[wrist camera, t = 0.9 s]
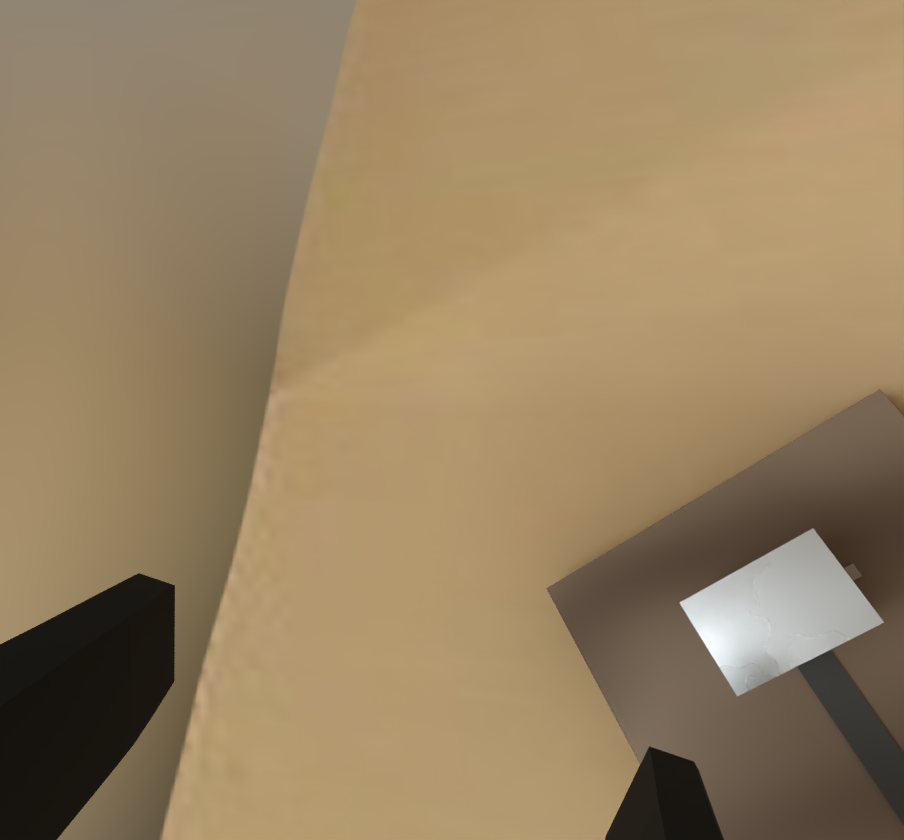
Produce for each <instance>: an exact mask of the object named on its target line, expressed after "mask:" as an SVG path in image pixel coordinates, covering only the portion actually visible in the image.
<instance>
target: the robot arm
mask: <svg viewBox="0 0 904 840" xmlns="http://www.w3.org/2000/svg"><path fill="white" fill-rule="evenodd" d="M174 611H175V586H174V585H172V584H169V583H166V582H163V581H160V580H157V579H154V578H151V577H148V576H145V575H142V574H137V575H135V576H133V577H131V578H129V579H127V580H125V581H123V582H121V583H119V584H117V585H115V586H113V587H111V588H109V589H107V590H106V591H103V592H101V593H99V594H97V595H95V596H94V597H92V598H90V599H88V600H86V601H84V602H82V603H80V604H78V605H76V606H75V607H72V608H71V609H69V610H67V611H65V612H63V613H61V614H59V615H57V616H55V617H53V618H51V619H50V620H48V621H46V622H44V623H42V624H40V625H38V626H36V627H34V628H32V629H30V630H28V631H26V632H24V633H22V634H20V635H18V636H16V637H14V638H12V639H10V640H8V641H6V642H4V643H2V644H0V840H57V838H58V837H59V836H60V835H61V834H62V832H63V831H64V830H65V829H66V827H67V826H68V825H69V824H70V822H71V821H72V820H73V819H74V817H75V816H76V815H77V814H78V812H80V810H81V809H82V808H83V807H84V805H85V804H86V803H87V802H88V801H89V799H90V798H91V797H92V796H93V794H94V793H95V792H96V791H97V789H98V788H99V787H100V786H101V785H102V783H103V782H104V781H105V779H106V778H107V777H108V776H109V775H110V773H111V772H112V771H113V770H114V768H115V767H116V766H117V765H118V763H119V762H120V761H121V760H122V758H123V757H124V756H125V755H126V753H127V752H128V751H129V750H130V748H131V747H132V746H133V745H134V743H135V742H136V740H137V739H138V737H139V736H140V734H141V732H142V731H143V730H144V728H145V727H146V725H147V723H148V722H149V721H150V719H151V717H152V716H153V714H154V713H155V711H156V710H157V708H158V706H159V705H160V703H161V702H162V700H163V698H164V697H165V695H166V694H167V692H168V690H169V689H170V687H171V686H172V684H173V682H174V626H175V625H174V623H175V622H174V620H175V618H174V617H175V616H174V615H175V614H174V613H175V612H174ZM605 840H724V838H723V835H722V833H721V830H720V827H719V825H718V822H717V819H716V816H715V814H714V811H713V808H712V805H711V803H710V800H709V797H708V794H707V792H706V789H705V786H704V783H703V780H702V777H701V775H700V772H699V769H698V768H697V766H696V764H695V762H694V761H691V760H688V759H685V758H682V757H679V756H676V755H673V754H670V753H667V752H664V751H662V750H659V749H656V748H653V747H650V746H649V748H648V750H647V752H646V754H645V756H644V758H643V760H642V762H641V764H640V766H639V769H638V771H637V773H636V775H635V777H634V779H633V781H632V783H631V785H630V787H629V789H628V791H627V793H626V795H625V798H624V800H623V802H622V804H621V806H620V808H619V810H618V812H617V814H616V816H615V818H614V820H613V822H612V825H611V827H610V829H609V831H608V833H607V835H606V838H605Z"/></svg>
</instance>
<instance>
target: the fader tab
mask: <svg viewBox="0 0 904 840" xmlns="http://www.w3.org/2000/svg"><path fill="white" fill-rule="evenodd" d="M680 605H681V606H682V608H683V610H684V611H685V613H686V614H687V616H688V618H689V619H690V621H691V623H692V624H693V626H694V627H695V629H696V631H697V632H698V634H699V635H700V637H701V639H702V640H703V642H704V643H705V645H706V647H707V648H708V650H709V652H710V653H711V655H712V656H713V658H714V660H715V661H716V663H717V664H718V666H719V668H720V669H721V671H722V673H723V674H724V676H725V677H726V679H727V681H728V682H729V684H730V685H731V687H732V689H733V690H734V692H735V694H736V695H737V696H739V695H741V694H743V693H745V692H747V691H749V690H751V689H753V688H755V687H757V686H759V685H761V684H763V683H765V682H767V681H769V680H771V679H773V678H775V677H777V676H779V675H781V674H783V673H785V672H787V671H789V670H791V669H793V668H795V667H797V666H799V665H801V664H803V663H805V662H807V661H809V660H811V659H813V658H815V657H817V656H819V655H821V654H823V653H825V652H827V651H829V650H831V649H833V648H835V647H837V646H839V645H840V644H842V643H844V642H846V641H848V640H850V639H852V638H854V637H856V636H858V635H860V634H862V633H864V632H866V631H868V630H870V629H872V628H874V627H876V626H878V625H880V624H882V623H884V622H883V620H882V619H881V618H880V616H879V615H878V614H877V612H876V611H875V610H874V608H873V607H872V606H871V604H870V603H869V602H868V600H867V599H866V598H865V596H864V595H863V594H862V592H861V591H860V590H859V588H858V587H857V586H856V584H855V583H854V582H853V580H852V579H851V578H850V576H849V575H848V574H847V572H846V571H845V570H844V568H843V567H842V566H841V564H840V563H839V562H838V560H837V559H836V558H835V556H834V555H833V554H832V552H831V551H830V550H829V549H828V547H827V546H826V545H825V543H824V542H823V541H822V539H821V538H820V537H819V535H818V534H817V533H816V531H815V530H814V529H813V528H812V529H811V530H809V531H807V532H805V533H803V534H802V535H800V536H798V537H796V538H795V539H793V540H791V541H789V542H787V543H786V544H784V545H782V546H780V547H778V548H777V549H775V550H773V551H771V552H769V553H768V554H766V555H764V556H762V557H760V558H759V559H757V560H755V561H753V562H751V563H750V564H748V565H746V566H744V567H742V568H741V569H739V570H737V571H735V572H733V573H732V574H730V575H728V576H726V577H725V578H723V579H721V580H719V581H717V582H716V583H714V584H712V585H710V586H708V587H707V588H705V589H703V590H701V591H699V592H698V593H696V594H694V595H692V596H690V597H689V598H687V599H685V600H683V601H681V602H680Z"/></svg>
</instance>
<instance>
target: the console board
mask: <svg viewBox="0 0 904 840" xmlns="http://www.w3.org/2000/svg"><path fill="white" fill-rule="evenodd" d="M812 528H813V529H814V530H815V531H816V533H817V534H818V535H819V537H820V538H821V539H822V541H823V542H824V543H825V545H826V546H827V547H828V549H829V550H830V551H831V552H832V554H833V555H834V556H835V558H836V559H837V560H838V562H839V563H840V564H841V566H842V567H843V568H844V570H845V571H846V572H847V574H848V575H849V576H850V578H851V579H852V580H853V582H854V583H855V584H856V586H857V587H858V588H859V590H860V591H861V592H862V594H863V595H864V596H865V598H866V599H867V600H868V602H869V603H870V604H871V606H872V607H873V608H874V610H875V611H876V612H877V614H878V615H879V616H880V618H881V619H882V620H883V622H884V623H882V624H880V625H878V626H876V627H874V628H872V629H870V630H868V631H866V632H864V633H862V634H860V635H858V636H856V637H854V638H852V639H850V640H848V641H846V642H844V643H842V644H840V645H839V646H837V647H835V648H833V649H831V650H829V651H827V652H825V653H823V654H821V655H819V656H817V657H815V658H813V659H811V660H809V661H807V662H805V663H803V664H801V665H799V666H797V667H795V668H793V669H791V670H789V671H787V672H785V673H783V674H781V675H779V676H777V677H775V678H773V679H771V680H769V681H767V682H765V683H763V684H761V685H759V686H757V687H755V688H753V689H751V690H749V691H747V692H745V693H743V694H741V695H739V696H737V695H736V694H735V692H734V690H733V689H732V687H731V685H730V684H729V682H728V681H727V679H726V677H725V676H724V674H723V673H722V671H721V669H720V668H719V666H718V664H717V663H716V661H715V660H714V658H713V656H712V655H711V653H710V652H709V650H708V648H707V647H706V645H705V643H704V642H703V640H702V639H701V637H700V635H699V634H698V632H697V631H696V629H695V627H694V626H693V624H692V623H691V621H690V619H689V618H688V616H687V614H686V613H685V611H684V610H683V608H682V606H681V605H680V602H681V601H683V600H685V599H687V598H689V597H690V596H692V595H694V594H696V593H698V592H699V591H701V590H703V589H705V588H707V587H708V586H710V585H712V584H714V583H716V582H717V581H719V580H721V579H723V578H725V577H726V576H728V575H730V574H732V573H733V572H735V571H737V570H739V569H741V568H742V567H744V566H746V565H748V564H750V563H751V562H753V561H755V560H757V559H759V558H760V557H762V556H764V555H766V554H768V553H769V552H771V551H773V550H775V549H777V548H778V547H780V546H782V545H784V544H786V543H787V542H789V541H791V540H793V539H795V538H796V537H798V536H800V535H802V534H803V533H805V532H807V531H809V530H811V529H812ZM547 590H548V592H549V594H550V596H551V598H552V600H553V601H554V603H555V605H556V607H557V609H558V611H559V613H560V615H561V616H562V618H563V620H564V622H565V624H566V626H567V628H568V630H569V631H570V633H571V635H572V637H573V639H574V641H575V643H576V645H577V647H578V648H579V650H580V652H581V654H582V656H583V658H584V660H585V662H586V663H587V665H588V667H589V669H590V671H591V673H592V675H593V677H594V678H595V680H596V682H597V684H598V686H599V688H600V690H601V692H602V693H603V695H604V697H605V699H606V701H607V703H608V705H609V707H610V708H611V710H612V712H613V714H614V716H615V718H616V720H617V722H618V723H619V725H620V727H621V729H622V731H623V733H624V735H625V737H626V739H627V740H628V742H629V744H630V746H631V748H632V750H633V752H634V754H635V755H636V757H637V759H638V761H639V763H640V764H641V762H642V760H643V758H644V756H645V754H646V752H647V750H648V748H649V746H650V747H653V748H656V749H659V750H662V751H664V752H667V753H670V754H673V755H676V756H679V757H682V758H685V759H688V760H691V761H694V762H695V764H696V766H697V768H698V769H699V772H700V775H701V777H702V780H703V783H704V786H705V789H706V792H707V794H708V797H709V800H710V803H711V805H712V808H713V811H714V814H715V816H716V819H717V822H718V825H719V827H720V830H721V833H722V835H723V838H724V840H904V416H903V415H902V413H901V412H900V411H899V410H898V409H897V408H896V407H895V406H894V404H893V403H892V402H891V401H890V400H889V399H888V398H887V397H886V396H885V394H884V393H883V392H882V391H881V390H878V391H876V392H875V393H873V394H871V395H870V396H868V397H866V398H865V399H863V400H861V401H860V402H858V403H856V404H855V405H853V406H851V407H850V408H848V409H846V410H845V411H843V412H841V413H840V414H838V415H836V416H834V417H833V418H831V419H829V420H828V421H826V422H824V423H823V424H821V425H819V426H818V427H816V428H814V429H813V430H811V431H809V432H808V433H806V434H804V435H803V436H801V437H799V438H798V439H796V440H794V441H793V442H791V443H789V444H788V445H786V446H784V447H783V448H781V449H779V450H778V451H776V452H774V453H773V454H771V455H769V456H767V457H766V458H764V459H762V460H761V461H759V462H757V463H756V464H754V465H752V466H751V467H749V468H747V469H746V470H744V471H742V472H741V473H739V474H737V475H736V476H734V477H732V478H731V479H729V480H727V481H726V482H724V483H722V484H721V485H719V486H717V487H716V488H714V489H712V490H711V491H709V492H707V493H705V494H704V495H702V496H700V497H699V498H697V499H695V500H694V501H692V502H690V503H689V504H687V505H685V506H684V507H682V508H680V509H679V510H677V511H675V512H674V513H672V514H670V515H669V516H667V517H665V518H664V519H662V520H660V521H659V522H657V523H655V524H654V525H652V526H650V527H649V528H647V529H645V530H644V531H642V532H640V533H638V534H637V535H635V536H633V537H632V538H630V539H628V540H627V541H625V542H623V543H622V544H620V545H618V546H617V547H615V548H613V549H612V550H610V551H608V552H607V553H605V554H603V555H602V556H600V557H598V558H597V559H595V560H593V561H592V562H590V563H588V564H587V565H585V566H583V567H582V568H580V569H578V570H577V571H575V572H573V573H571V574H570V575H568V576H566V577H565V578H563V579H561V580H560V581H558V582H556V583H555V584H553V585H551V586H550V587H548V588H547Z"/></svg>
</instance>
